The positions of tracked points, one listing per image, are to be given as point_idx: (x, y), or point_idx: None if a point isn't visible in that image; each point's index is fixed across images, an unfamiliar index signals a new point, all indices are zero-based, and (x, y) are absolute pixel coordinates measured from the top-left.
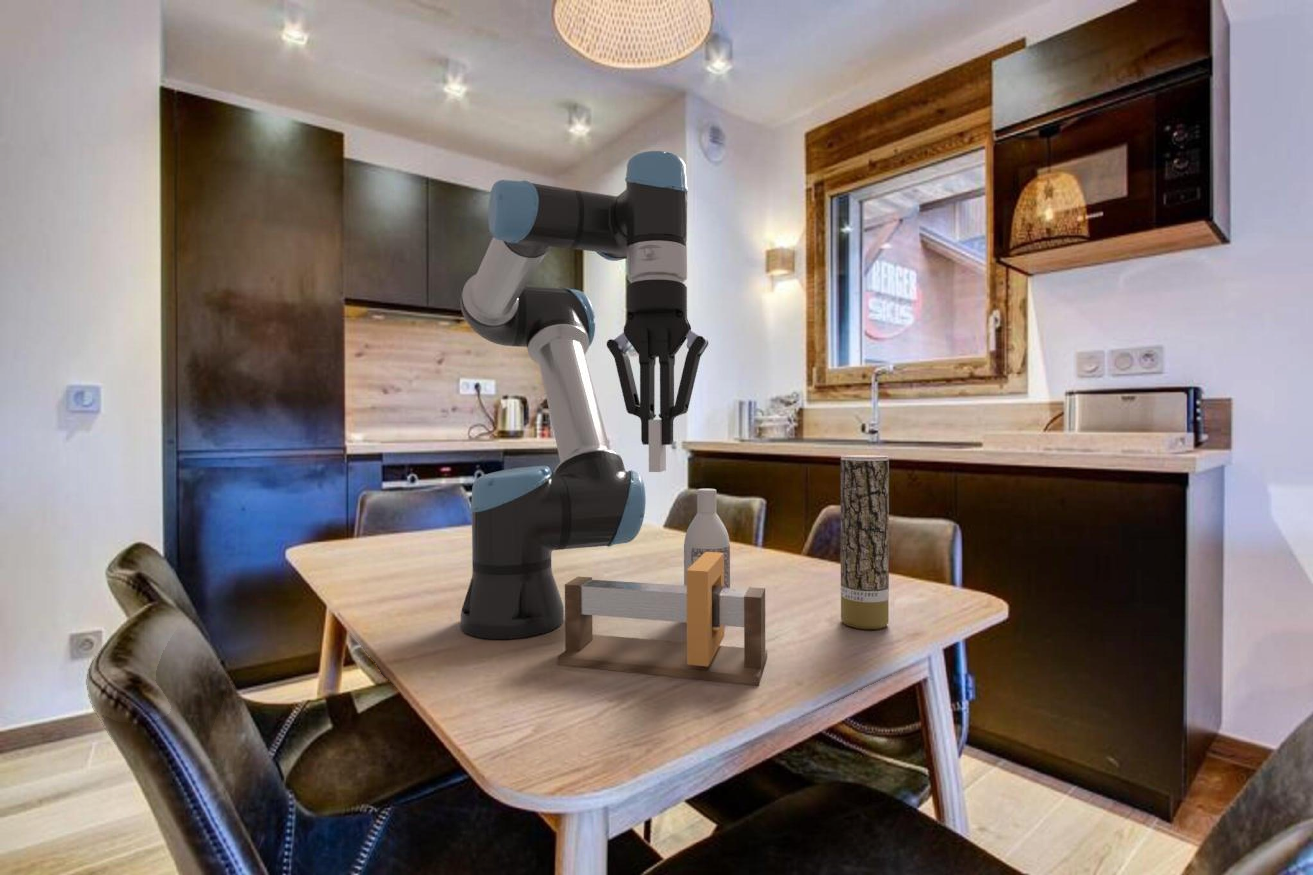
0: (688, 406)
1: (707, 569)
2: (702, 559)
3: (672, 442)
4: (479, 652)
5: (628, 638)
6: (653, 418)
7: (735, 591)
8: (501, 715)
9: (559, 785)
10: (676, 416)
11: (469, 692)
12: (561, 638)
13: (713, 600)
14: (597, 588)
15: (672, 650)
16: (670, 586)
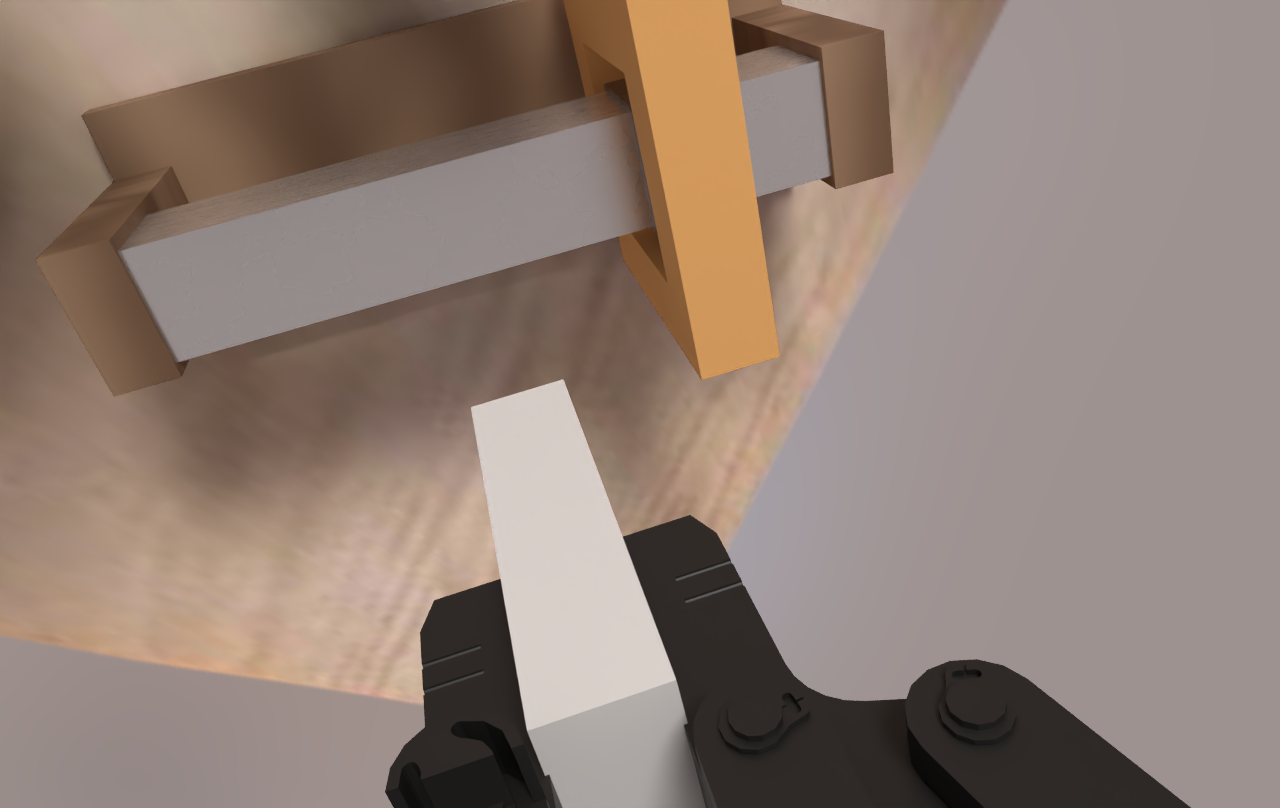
0: (1072, 725)
1: (768, 331)
2: (683, 176)
3: (703, 525)
4: None
5: (273, 76)
6: (483, 717)
7: (780, 114)
8: (340, 599)
9: None
10: (855, 706)
11: (165, 574)
12: None
13: None
14: (255, 339)
15: (489, 109)
16: (514, 176)
